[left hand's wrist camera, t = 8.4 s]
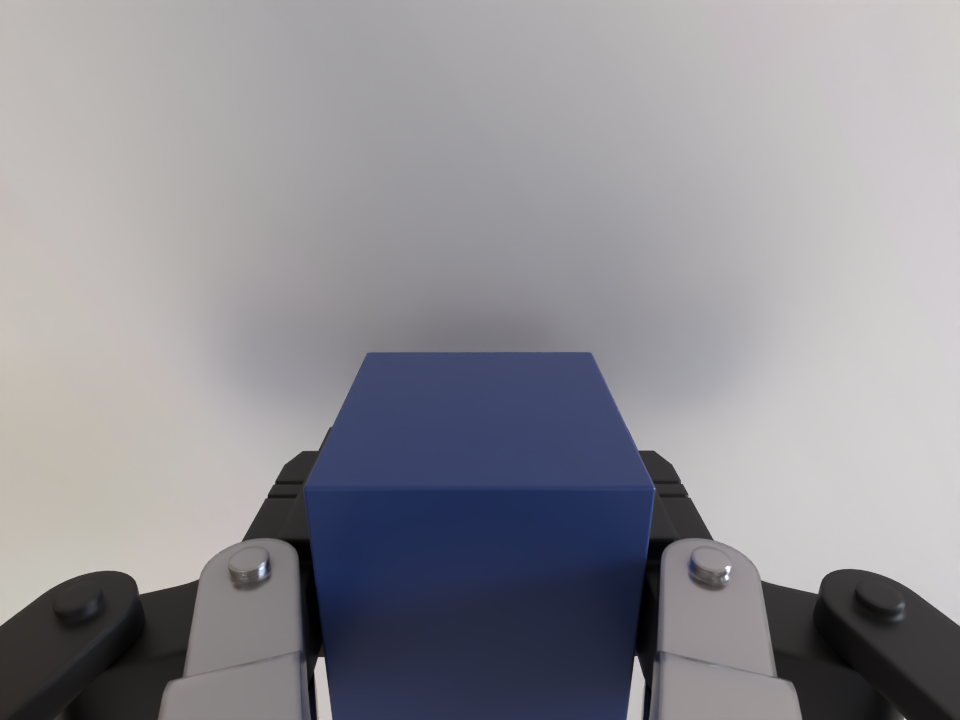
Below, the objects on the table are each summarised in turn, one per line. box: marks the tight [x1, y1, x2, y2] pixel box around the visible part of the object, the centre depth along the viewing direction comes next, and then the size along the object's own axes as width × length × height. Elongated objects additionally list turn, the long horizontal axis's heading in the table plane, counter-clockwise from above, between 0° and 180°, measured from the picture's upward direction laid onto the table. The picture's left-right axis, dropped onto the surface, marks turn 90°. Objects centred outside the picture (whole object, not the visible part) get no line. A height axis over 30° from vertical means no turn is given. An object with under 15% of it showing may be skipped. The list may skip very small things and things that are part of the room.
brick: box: [303, 352, 656, 720], centre depth 11 cm, size 4×5×5 cm
